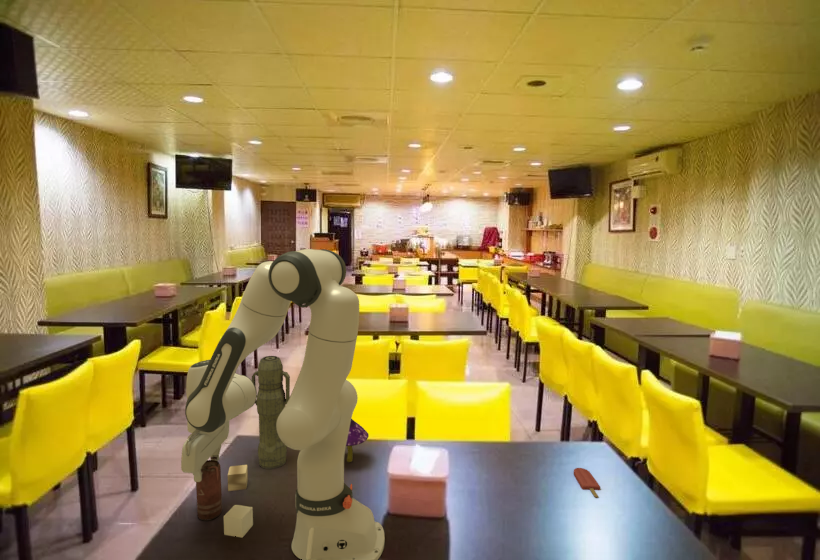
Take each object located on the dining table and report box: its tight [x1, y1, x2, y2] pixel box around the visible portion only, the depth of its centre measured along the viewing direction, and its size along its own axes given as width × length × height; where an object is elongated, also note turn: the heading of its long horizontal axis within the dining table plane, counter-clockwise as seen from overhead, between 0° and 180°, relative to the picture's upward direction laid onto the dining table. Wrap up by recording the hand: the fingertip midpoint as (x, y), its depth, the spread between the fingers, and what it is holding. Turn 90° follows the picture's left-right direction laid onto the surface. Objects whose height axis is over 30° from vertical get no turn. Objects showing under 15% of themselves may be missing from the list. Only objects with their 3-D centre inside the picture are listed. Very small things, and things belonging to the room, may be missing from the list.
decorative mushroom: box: [346, 418, 370, 463], centre depth 152 cm, size 12×12×15 cm
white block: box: [223, 504, 254, 539], centre depth 118 cm, size 5×5×5 cm
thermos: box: [251, 355, 291, 470], centre depth 150 cm, size 9×12×35 cm
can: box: [195, 459, 223, 522], centre depth 124 cm, size 6×6×14 cm
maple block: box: [227, 464, 249, 492], centre depth 138 cm, size 5×5×5 cm
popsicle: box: [573, 467, 601, 498], centre depth 141 cm, size 5×2×15 cm
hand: (207, 470), depth 123 cm, fingers open, 8 cm apart
